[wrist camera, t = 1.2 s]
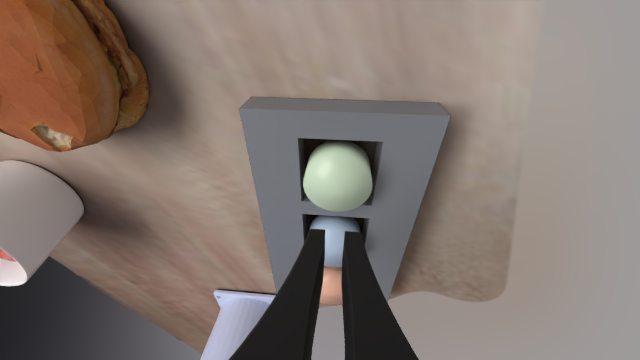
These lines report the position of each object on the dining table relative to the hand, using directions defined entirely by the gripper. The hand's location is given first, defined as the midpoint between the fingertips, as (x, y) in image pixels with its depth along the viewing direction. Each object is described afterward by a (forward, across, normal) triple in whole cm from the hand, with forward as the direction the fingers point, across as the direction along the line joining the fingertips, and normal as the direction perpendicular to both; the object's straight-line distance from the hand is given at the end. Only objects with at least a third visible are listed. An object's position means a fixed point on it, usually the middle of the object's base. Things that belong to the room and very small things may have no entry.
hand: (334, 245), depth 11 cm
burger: (+8, +16, -6) cm, 19 cm away
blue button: (+6, 0, +6) cm, 9 cm away
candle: (+8, +26, +5) cm, 28 cm away
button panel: (+7, 0, +6) cm, 10 cm away
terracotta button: (+6, 0, +12) cm, 14 cm away
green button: (+6, 0, 0) cm, 6 cm away
